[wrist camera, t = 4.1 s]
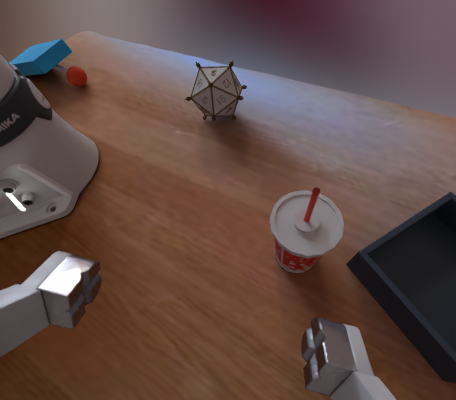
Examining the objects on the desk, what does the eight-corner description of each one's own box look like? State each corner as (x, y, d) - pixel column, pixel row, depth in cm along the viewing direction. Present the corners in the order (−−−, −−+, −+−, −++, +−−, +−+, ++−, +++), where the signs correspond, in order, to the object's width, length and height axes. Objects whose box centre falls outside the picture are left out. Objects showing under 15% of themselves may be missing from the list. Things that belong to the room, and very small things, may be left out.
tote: (443, 381, 23) (477, 387, 19) (345, 264, 29) (358, 252, 25) (537, 305, 25) (585, 298, 21) (428, 210, 31) (450, 191, 27)
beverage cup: (334, 255, 30) (384, 192, 17) (295, 292, 28) (320, 251, 16) (294, 218, 32) (313, 141, 20) (257, 250, 31) (253, 188, 19)
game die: (212, 128, 46) (174, 78, 42) (252, 98, 44) (217, 42, 40) (216, 145, 39) (170, 85, 34) (265, 109, 37) (223, 40, 32)
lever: (36, 95, 58) (75, 96, 48) (5, 65, 53) (42, 59, 43) (58, 76, 61) (100, 73, 51) (31, 46, 56) (71, 36, 46)
